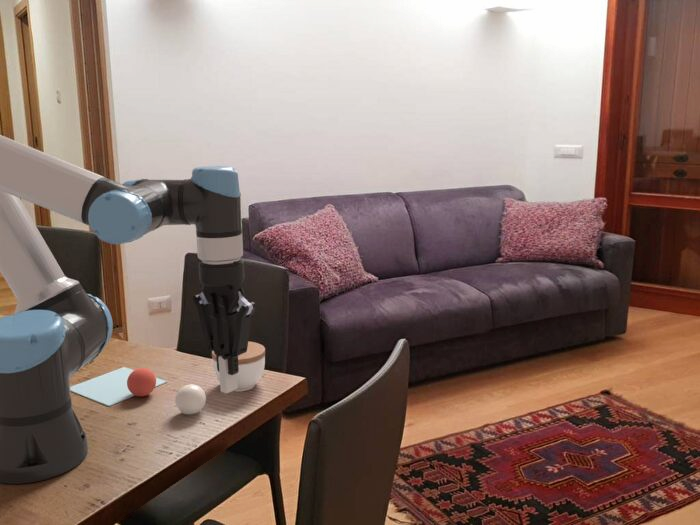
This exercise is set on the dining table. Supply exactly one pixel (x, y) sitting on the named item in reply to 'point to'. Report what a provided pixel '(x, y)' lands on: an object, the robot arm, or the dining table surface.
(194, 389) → the cue ball
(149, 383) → the red ball
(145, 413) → the dining table surface
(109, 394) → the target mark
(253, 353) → the lidded jar
